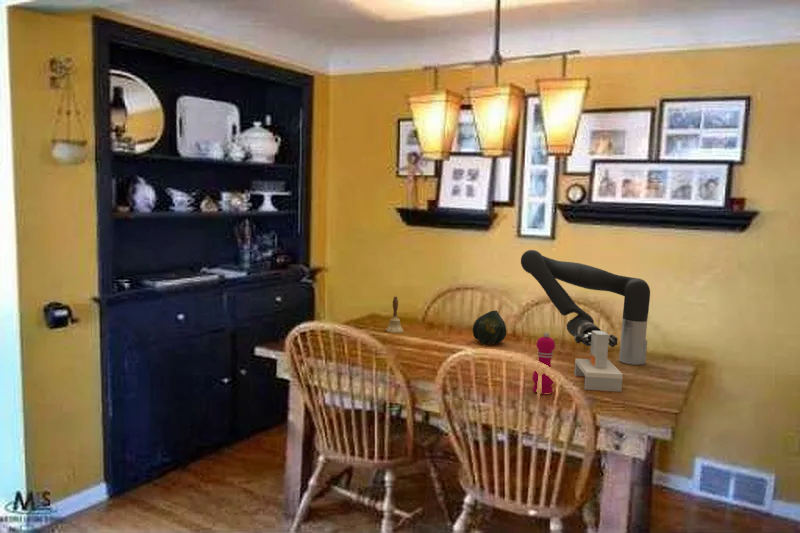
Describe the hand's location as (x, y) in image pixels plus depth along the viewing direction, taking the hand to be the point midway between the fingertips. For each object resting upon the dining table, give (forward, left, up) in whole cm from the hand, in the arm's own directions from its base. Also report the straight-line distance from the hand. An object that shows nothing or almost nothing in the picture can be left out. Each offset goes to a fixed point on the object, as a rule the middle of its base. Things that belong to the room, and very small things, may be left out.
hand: (600, 343), depth 224 cm
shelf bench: (0, 0, -14) cm, 14 cm away
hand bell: (+76, -66, -14) cm, 102 cm away
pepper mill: (+21, +14, -14) cm, 29 cm away
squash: (+34, -52, -14) cm, 64 cm away
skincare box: (0, 0, -8) cm, 8 cm away
